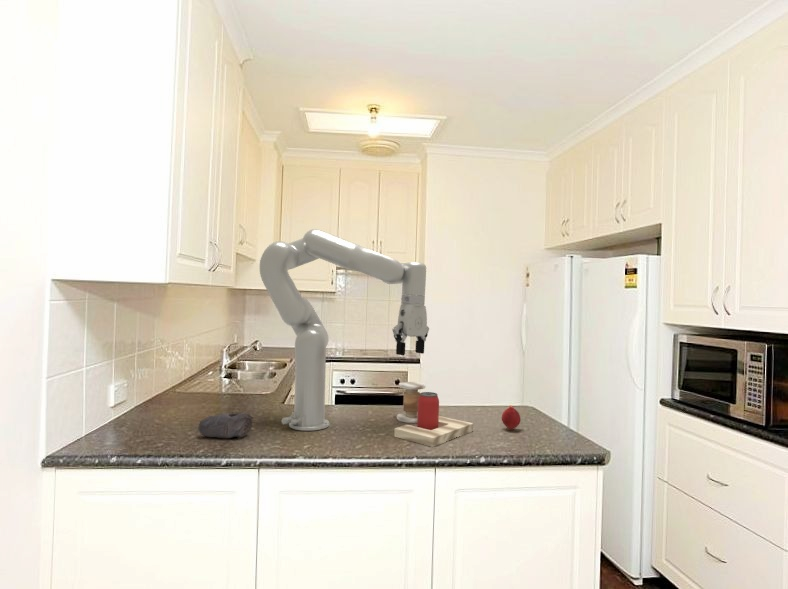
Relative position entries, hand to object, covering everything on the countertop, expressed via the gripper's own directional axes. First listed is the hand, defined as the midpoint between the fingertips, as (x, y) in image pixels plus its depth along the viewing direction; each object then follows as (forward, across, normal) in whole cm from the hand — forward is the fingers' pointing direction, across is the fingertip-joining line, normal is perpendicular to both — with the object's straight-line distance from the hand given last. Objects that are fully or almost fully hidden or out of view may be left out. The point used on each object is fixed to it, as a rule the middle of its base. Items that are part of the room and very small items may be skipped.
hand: (410, 353), depth 155 cm
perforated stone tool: (+25, -47, +29) cm, 61 cm away
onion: (+23, +22, -26) cm, 41 cm away
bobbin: (+24, +9, +5) cm, 26 cm away
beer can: (+24, 0, -9) cm, 25 cm away
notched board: (+23, 0, -11) cm, 26 cm away
